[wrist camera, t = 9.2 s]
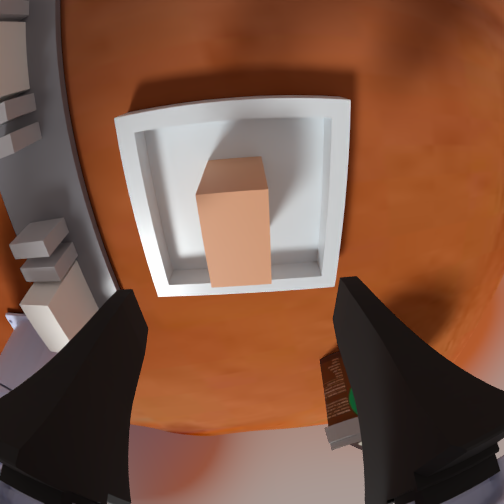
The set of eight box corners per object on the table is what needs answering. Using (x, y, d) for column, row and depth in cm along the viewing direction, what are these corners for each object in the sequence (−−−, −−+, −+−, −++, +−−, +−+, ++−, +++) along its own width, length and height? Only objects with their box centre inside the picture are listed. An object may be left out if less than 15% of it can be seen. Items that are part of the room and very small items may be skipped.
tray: (327, 268, 21) (334, 286, 20) (163, 278, 21) (158, 296, 20) (338, 96, 14) (350, 99, 13) (127, 112, 15) (114, 118, 13)
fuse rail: (135, 324, 24) (125, 356, 21) (65, 321, 24) (51, 349, 21) (60, -23, 8) (29, -33, 5) (-19, 27, 8) (-51, 30, 5)
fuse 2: (98, 308, 22) (79, 354, 18) (71, 308, 22) (50, 351, 18) (76, 260, 19) (47, 305, 15) (48, 261, 19) (19, 304, 15)
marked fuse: (265, 232, 19) (271, 283, 15) (217, 235, 19) (211, 287, 15) (261, 156, 16) (268, 189, 12) (207, 160, 16) (195, 195, 12)
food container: (409, 363, 30) (435, 434, 22) (367, 388, 32) (385, 457, 24) (364, 321, 25) (398, 419, 17) (310, 354, 27) (328, 449, 19)
